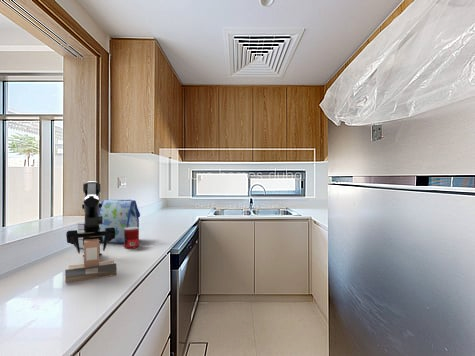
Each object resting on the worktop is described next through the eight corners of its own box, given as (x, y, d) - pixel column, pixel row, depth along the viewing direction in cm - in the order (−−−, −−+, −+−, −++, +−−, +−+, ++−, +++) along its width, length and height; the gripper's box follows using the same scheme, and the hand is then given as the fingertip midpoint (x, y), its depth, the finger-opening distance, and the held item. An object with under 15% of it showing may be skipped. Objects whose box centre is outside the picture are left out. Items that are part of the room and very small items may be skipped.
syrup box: (86, 248, 165) (86, 222, 165) (77, 248, 167) (77, 222, 167) (93, 246, 171) (93, 221, 171) (84, 245, 172) (84, 221, 172)
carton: (99, 266, 126) (98, 238, 126) (99, 270, 121) (98, 241, 121) (84, 268, 124) (84, 239, 124) (84, 272, 119) (83, 242, 119)
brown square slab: (69, 269, 128) (69, 258, 128) (113, 263, 136) (113, 253, 136) (65, 282, 111) (65, 270, 111) (116, 275, 119) (116, 264, 119)
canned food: (141, 245, 170) (141, 227, 170) (132, 249, 163) (132, 229, 163) (130, 245, 173) (130, 226, 173) (121, 248, 165) (121, 228, 165)
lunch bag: (141, 238, 191) (141, 198, 191) (128, 244, 175) (127, 200, 175) (110, 237, 195) (110, 198, 195) (94, 243, 179) (94, 200, 179)
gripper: (66, 211, 122) (64, 243, 112) (114, 209, 130) (116, 238, 120) (68, 227, 129) (66, 258, 119) (114, 224, 137) (115, 253, 128)
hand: (91, 251), depth 121 cm, fingers open, 9 cm apart
